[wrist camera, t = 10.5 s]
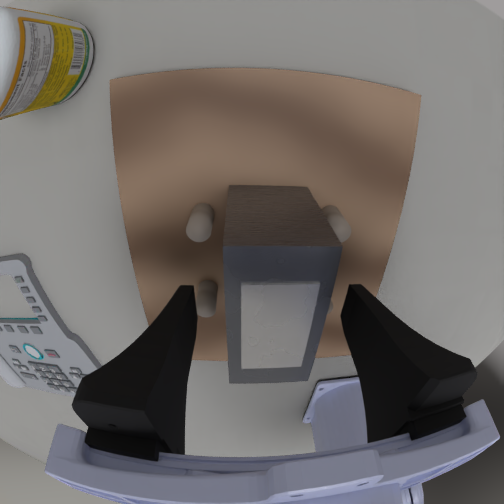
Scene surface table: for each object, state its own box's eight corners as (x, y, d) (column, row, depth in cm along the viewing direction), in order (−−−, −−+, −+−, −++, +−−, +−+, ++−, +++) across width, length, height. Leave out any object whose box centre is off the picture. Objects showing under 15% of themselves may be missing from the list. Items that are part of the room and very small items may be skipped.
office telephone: (4, 388, 27) (-74, 282, 16) (10, 376, 29) (-64, 270, 18) (125, 414, 26) (18, 266, 15) (130, 395, 28) (36, 246, 17)
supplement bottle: (113, 53, 11) (-20, 43, 3) (55, 123, 13) (-70, 182, 4) (66, 5, 9) (-55, -15, 1) (14, 74, 10) (-105, 104, 2)
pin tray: (350, 346, 23) (359, 373, 21) (161, 348, 22) (154, 377, 20) (411, 93, 13) (442, 98, 10) (117, 79, 12) (91, 80, 9)
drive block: (292, 304, 19) (308, 382, 14) (231, 305, 19) (229, 385, 13) (307, 186, 15) (343, 248, 9) (228, 185, 14) (222, 247, 9)
